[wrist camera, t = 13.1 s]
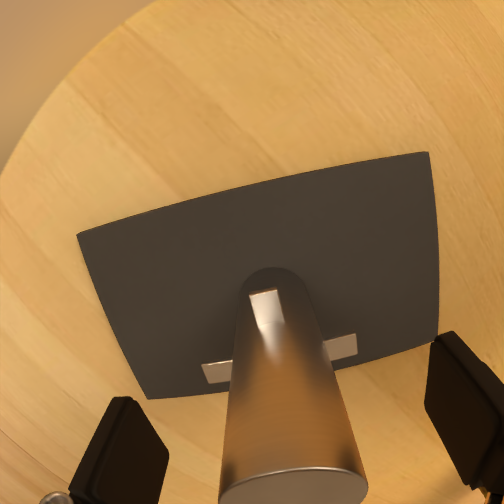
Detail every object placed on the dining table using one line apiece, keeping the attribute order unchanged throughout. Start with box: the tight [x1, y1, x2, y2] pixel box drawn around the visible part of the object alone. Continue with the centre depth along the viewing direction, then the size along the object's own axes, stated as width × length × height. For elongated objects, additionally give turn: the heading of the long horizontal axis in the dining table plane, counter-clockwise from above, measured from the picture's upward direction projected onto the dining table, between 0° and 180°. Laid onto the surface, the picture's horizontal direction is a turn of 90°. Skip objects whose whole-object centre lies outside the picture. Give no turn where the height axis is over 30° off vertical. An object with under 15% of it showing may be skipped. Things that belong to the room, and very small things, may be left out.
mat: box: [76, 152, 439, 400], centre depth 17 cm, size 12×20×1 cm, turn 103°
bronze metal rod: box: [201, 267, 368, 504], centre depth 11 cm, size 6×6×12 cm
